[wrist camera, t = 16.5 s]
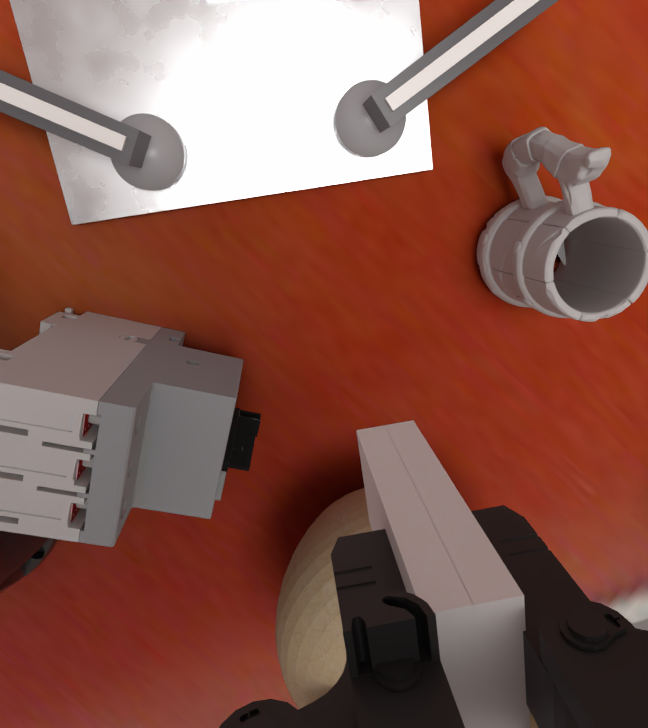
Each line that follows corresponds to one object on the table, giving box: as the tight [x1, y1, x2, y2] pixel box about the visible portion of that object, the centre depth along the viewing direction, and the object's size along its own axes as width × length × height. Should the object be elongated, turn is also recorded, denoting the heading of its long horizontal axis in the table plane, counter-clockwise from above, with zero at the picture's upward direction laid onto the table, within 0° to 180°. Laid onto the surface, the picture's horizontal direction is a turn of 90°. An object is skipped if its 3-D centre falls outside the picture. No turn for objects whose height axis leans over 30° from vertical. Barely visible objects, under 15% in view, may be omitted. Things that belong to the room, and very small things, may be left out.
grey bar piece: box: [0, 70, 186, 190], centre depth 32 cm, size 4×14×5 cm, turn 67°
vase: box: [276, 488, 538, 728], centre depth 31 cm, size 17×17×30 cm
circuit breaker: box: [0, 307, 261, 547], centre depth 33 cm, size 8×14×15 cm, turn 76°
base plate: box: [10, 0, 433, 225], centre depth 34 cm, size 24×15×3 cm, turn 99°
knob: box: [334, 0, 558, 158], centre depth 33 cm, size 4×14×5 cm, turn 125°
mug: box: [477, 127, 648, 322], centre depth 34 cm, size 8×12×12 cm, turn 21°
